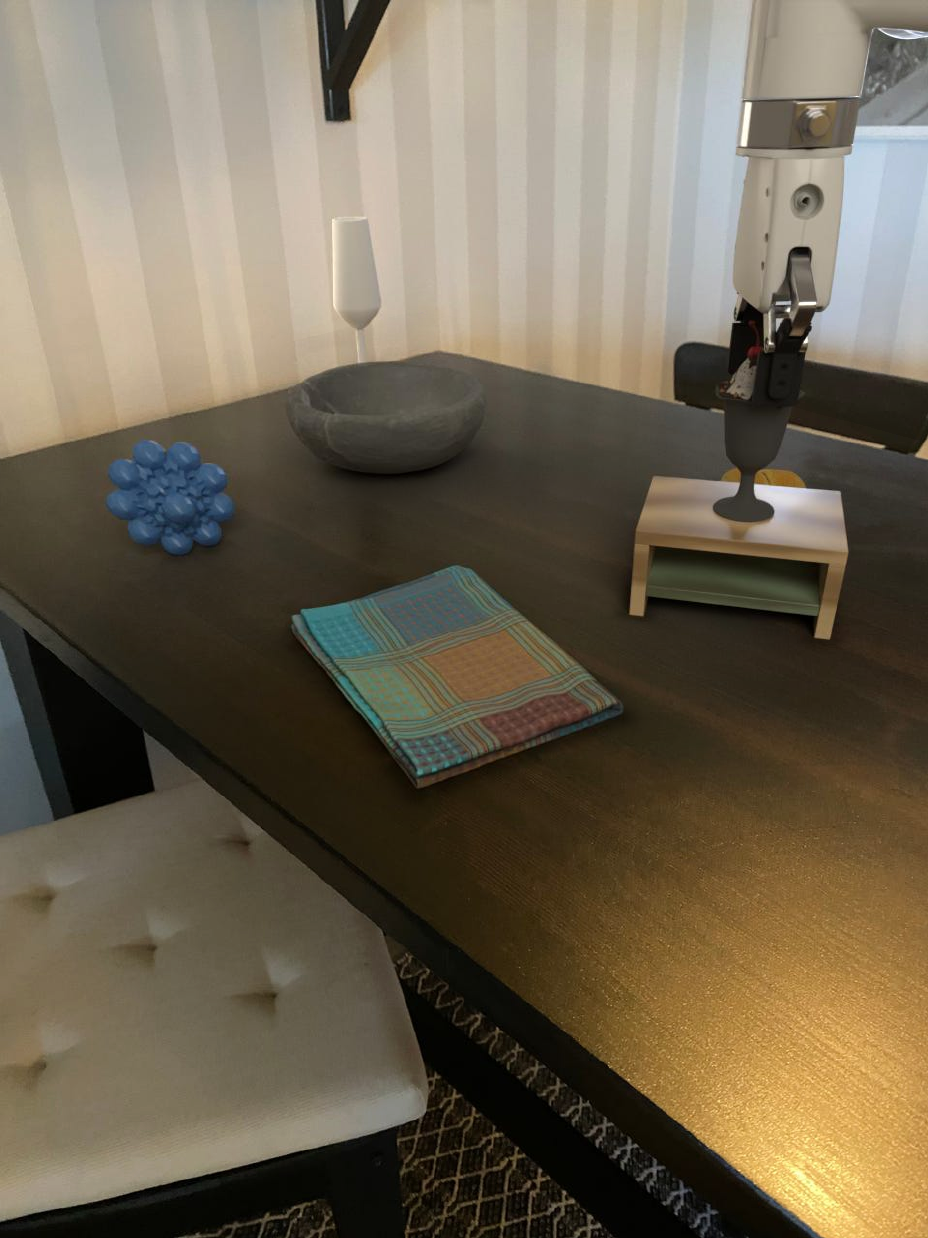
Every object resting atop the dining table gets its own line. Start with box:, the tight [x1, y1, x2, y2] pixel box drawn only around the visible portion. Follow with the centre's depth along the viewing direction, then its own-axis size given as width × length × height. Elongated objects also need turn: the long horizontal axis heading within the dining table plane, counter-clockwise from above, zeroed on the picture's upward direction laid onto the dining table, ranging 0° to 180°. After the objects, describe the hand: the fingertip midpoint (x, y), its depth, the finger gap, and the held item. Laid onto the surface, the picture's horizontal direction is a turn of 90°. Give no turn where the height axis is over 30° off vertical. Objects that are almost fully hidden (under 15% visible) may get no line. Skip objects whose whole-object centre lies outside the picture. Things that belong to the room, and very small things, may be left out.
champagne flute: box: [331, 215, 382, 363], centre depth 126 cm, size 7×7×24 cm
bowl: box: [285, 360, 487, 475], centre depth 105 cm, size 23×22×10 cm
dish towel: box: [290, 564, 624, 790], centre depth 69 cm, size 17×23×2 cm
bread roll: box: [720, 466, 807, 489], centre depth 94 cm, size 8×9×4 cm
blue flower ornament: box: [106, 439, 236, 556], centre depth 85 cm, size 12×7×12 cm, turn 119°
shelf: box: [628, 475, 849, 640], centre depth 77 cm, size 12×16×8 cm
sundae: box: [713, 321, 806, 522], centre depth 71 cm, size 7×7×15 cm
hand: (759, 387), depth 70 cm, fingers open, 7 cm apart
